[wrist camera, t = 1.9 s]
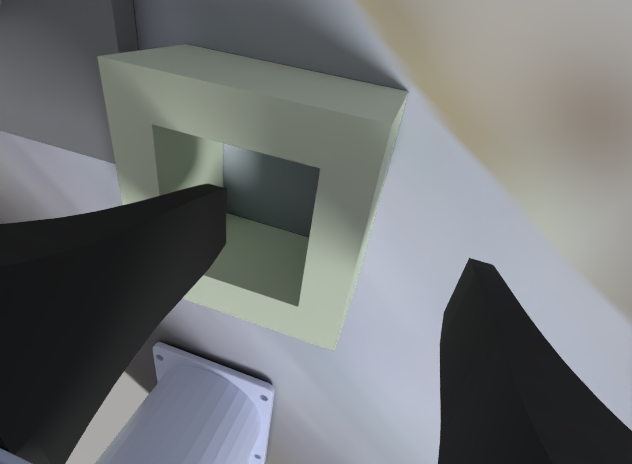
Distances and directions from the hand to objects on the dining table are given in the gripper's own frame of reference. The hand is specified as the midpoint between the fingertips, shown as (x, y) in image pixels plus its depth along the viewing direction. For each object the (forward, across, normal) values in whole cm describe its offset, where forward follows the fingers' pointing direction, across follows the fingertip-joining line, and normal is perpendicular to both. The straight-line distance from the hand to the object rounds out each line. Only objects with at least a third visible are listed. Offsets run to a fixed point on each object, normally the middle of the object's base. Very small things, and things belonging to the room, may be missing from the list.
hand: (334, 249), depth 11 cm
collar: (+4, +3, 0) cm, 5 cm away
